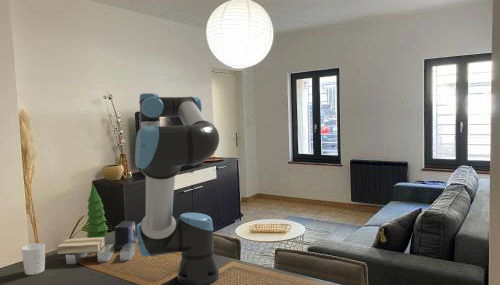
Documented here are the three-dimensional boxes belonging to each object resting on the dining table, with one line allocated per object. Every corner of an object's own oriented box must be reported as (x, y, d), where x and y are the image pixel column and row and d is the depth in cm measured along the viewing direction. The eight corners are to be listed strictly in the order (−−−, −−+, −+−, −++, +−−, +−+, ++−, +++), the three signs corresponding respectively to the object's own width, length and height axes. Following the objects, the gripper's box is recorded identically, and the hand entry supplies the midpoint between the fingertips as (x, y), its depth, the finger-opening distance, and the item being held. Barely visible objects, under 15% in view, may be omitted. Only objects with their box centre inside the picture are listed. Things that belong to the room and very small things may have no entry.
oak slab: (98, 251, 155) (97, 244, 155) (57, 254, 154) (57, 246, 153) (105, 243, 165) (104, 237, 165) (67, 245, 163) (66, 238, 163)
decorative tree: (83, 249, 171) (79, 184, 169) (92, 242, 180) (89, 180, 178) (104, 249, 171) (101, 183, 169) (112, 242, 180) (109, 180, 178)
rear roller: (130, 260, 156) (129, 251, 156) (120, 260, 156) (119, 251, 156) (135, 251, 166) (134, 243, 166) (125, 252, 166) (125, 243, 166)
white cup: (18, 274, 145) (16, 248, 144) (36, 266, 152) (34, 242, 152) (33, 276, 142) (31, 250, 142) (51, 268, 150) (49, 244, 149)
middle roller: (107, 261, 156) (107, 252, 155) (97, 262, 155) (97, 252, 155) (114, 253, 166) (113, 244, 165) (104, 253, 165) (104, 244, 165)
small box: (129, 249, 169) (128, 226, 169) (114, 250, 170) (113, 227, 169) (136, 242, 180) (135, 220, 179) (123, 242, 180) (122, 220, 179)
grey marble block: (75, 264, 154) (75, 254, 154) (66, 264, 154) (65, 254, 154) (87, 255, 164) (87, 246, 164) (78, 255, 164) (78, 246, 164)
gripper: (132, 133, 147) (134, 193, 148) (166, 132, 148) (168, 191, 149) (136, 132, 154) (138, 189, 156) (168, 131, 155) (170, 188, 157)
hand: (153, 190), depth 153 cm, fingers closed
